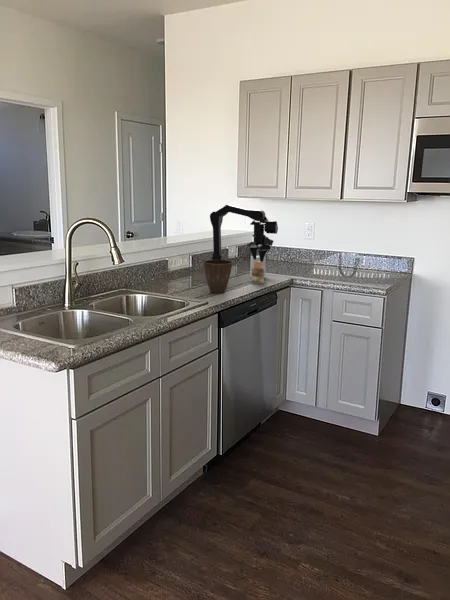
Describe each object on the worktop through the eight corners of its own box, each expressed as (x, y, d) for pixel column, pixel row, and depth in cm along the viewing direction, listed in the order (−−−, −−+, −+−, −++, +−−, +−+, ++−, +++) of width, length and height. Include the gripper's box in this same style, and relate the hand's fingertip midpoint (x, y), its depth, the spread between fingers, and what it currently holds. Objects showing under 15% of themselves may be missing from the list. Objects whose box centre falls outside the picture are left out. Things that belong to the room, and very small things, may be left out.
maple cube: (255, 283, 287) (255, 276, 286) (251, 282, 291) (252, 275, 290) (263, 283, 288) (263, 276, 288) (259, 281, 293) (259, 274, 292)
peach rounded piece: (255, 269, 285) (255, 262, 284) (252, 268, 289) (252, 261, 288) (263, 269, 287) (263, 262, 286) (259, 267, 291) (260, 261, 290)
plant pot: (212, 288, 275) (212, 258, 272) (236, 290, 269) (237, 261, 265) (198, 293, 262) (198, 262, 259) (223, 296, 256) (223, 264, 252)
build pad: (253, 285, 284) (253, 284, 284) (247, 282, 292) (247, 281, 292) (268, 284, 287) (268, 283, 287) (261, 281, 296) (261, 280, 296)
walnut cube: (255, 276, 286) (255, 269, 285) (251, 275, 290) (252, 268, 289) (263, 276, 288) (263, 269, 287) (259, 274, 292) (260, 267, 291)
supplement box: (265, 277, 306) (266, 257, 303) (254, 278, 304) (254, 257, 301) (261, 275, 313) (261, 255, 310) (249, 276, 310) (250, 255, 308)
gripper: (279, 234, 278) (278, 262, 281) (264, 231, 295) (263, 257, 298) (261, 234, 274) (260, 263, 277) (247, 231, 291) (246, 258, 294)
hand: (258, 260), depth 287 cm, fingers open, 9 cm apart
